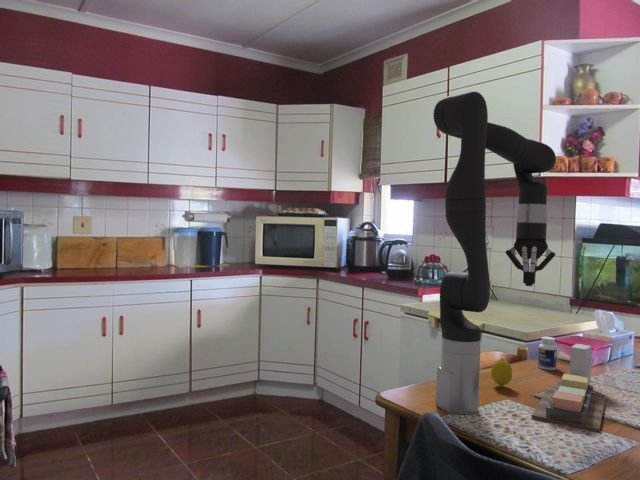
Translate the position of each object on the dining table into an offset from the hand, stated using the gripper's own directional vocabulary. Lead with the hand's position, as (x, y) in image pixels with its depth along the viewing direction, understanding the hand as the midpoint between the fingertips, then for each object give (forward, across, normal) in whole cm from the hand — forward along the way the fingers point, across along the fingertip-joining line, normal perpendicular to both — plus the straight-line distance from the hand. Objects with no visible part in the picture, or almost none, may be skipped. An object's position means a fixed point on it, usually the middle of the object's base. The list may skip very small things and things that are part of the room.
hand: (529, 285), depth 142 cm
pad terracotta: (+27, +12, -15) cm, 33 cm away
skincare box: (+29, +12, +13) cm, 34 cm away
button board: (+29, +12, -6) cm, 32 cm away
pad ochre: (+27, +12, +3) cm, 29 cm away
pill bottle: (+29, +2, +31) cm, 43 cm away
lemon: (+29, -6, +2) cm, 30 cm away
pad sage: (+28, +12, -6) cm, 31 cm away
